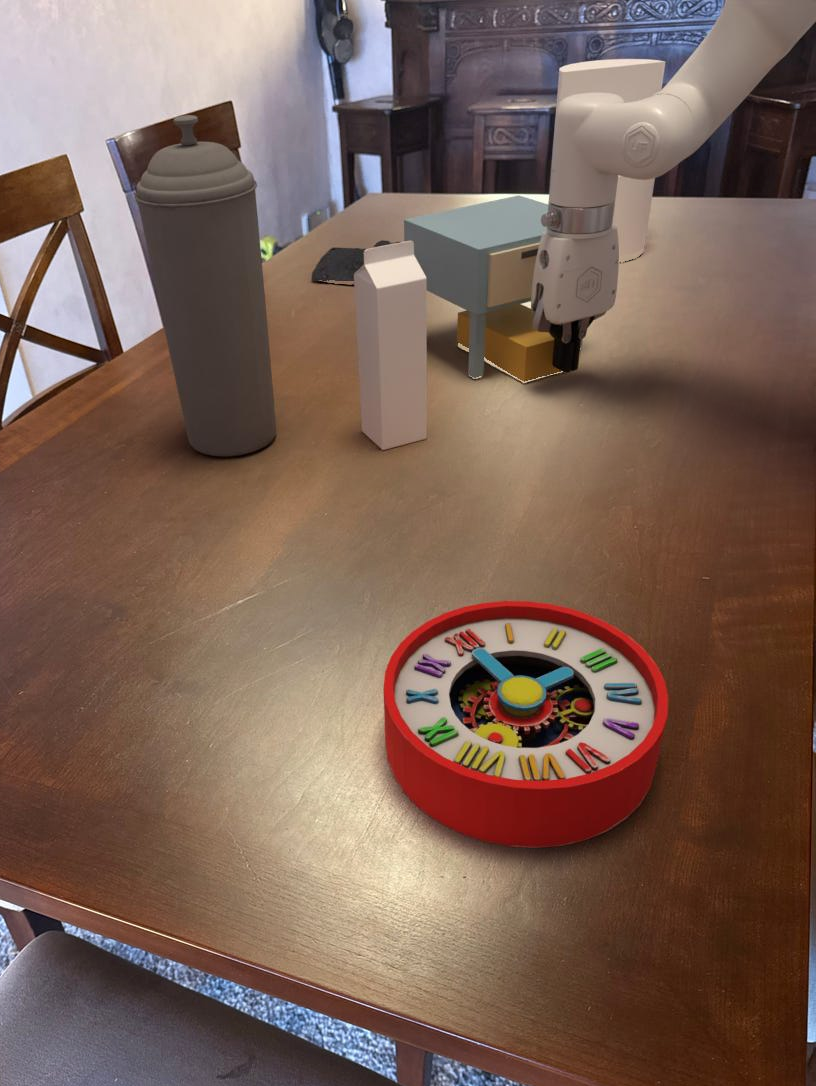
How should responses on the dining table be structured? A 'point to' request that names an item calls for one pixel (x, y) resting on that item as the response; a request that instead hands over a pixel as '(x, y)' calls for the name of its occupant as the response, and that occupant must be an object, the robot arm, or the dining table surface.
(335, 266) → the dark slate chunk
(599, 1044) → the dining table surface
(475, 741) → the toy clock
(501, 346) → the yellow rectangular block
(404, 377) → the milk
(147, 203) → the canister
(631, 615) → the dining table surface
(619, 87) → the cylinder
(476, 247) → the drawer unit
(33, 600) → the dining table surface
